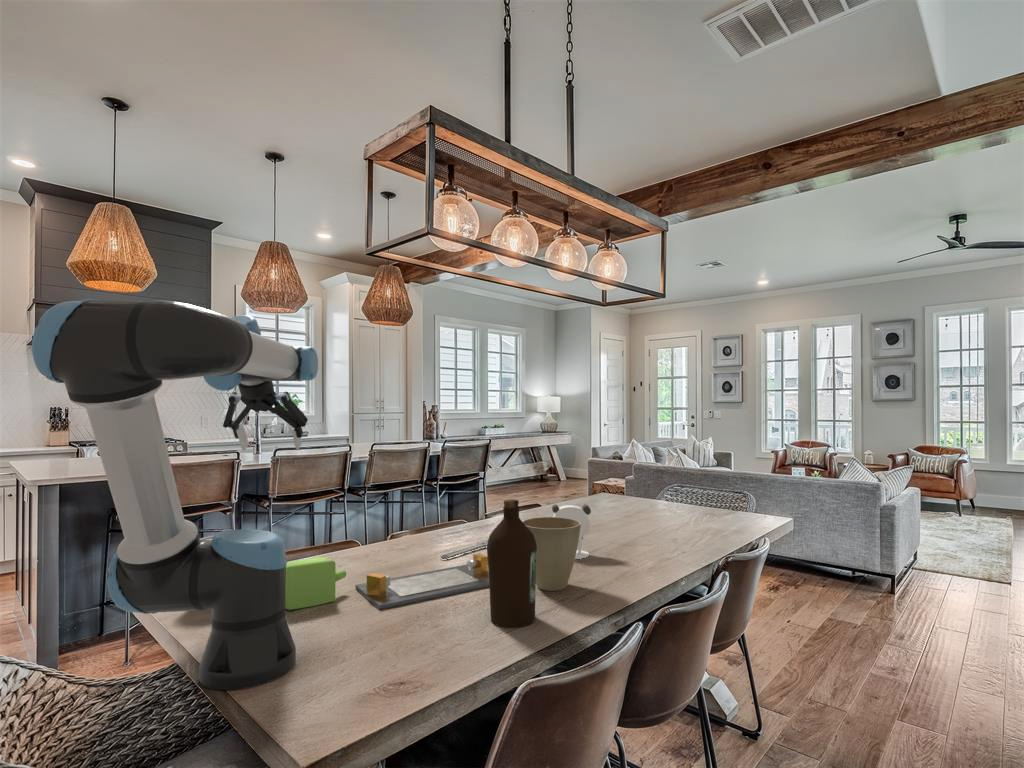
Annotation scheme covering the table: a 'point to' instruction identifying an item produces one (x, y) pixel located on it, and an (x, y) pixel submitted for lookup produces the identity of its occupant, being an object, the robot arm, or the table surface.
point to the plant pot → (554, 550)
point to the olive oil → (512, 570)
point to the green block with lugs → (311, 582)
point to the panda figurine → (580, 516)
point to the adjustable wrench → (465, 549)
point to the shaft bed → (425, 584)
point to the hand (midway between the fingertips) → (272, 446)
